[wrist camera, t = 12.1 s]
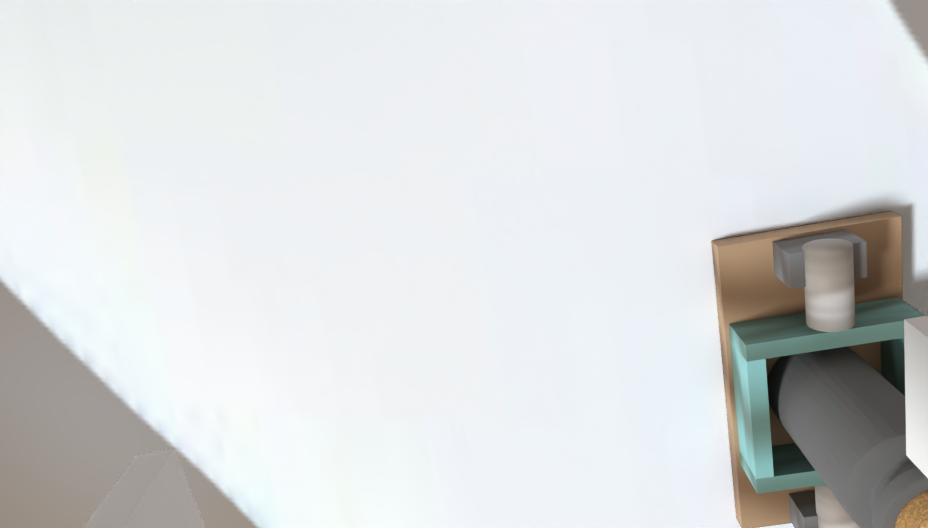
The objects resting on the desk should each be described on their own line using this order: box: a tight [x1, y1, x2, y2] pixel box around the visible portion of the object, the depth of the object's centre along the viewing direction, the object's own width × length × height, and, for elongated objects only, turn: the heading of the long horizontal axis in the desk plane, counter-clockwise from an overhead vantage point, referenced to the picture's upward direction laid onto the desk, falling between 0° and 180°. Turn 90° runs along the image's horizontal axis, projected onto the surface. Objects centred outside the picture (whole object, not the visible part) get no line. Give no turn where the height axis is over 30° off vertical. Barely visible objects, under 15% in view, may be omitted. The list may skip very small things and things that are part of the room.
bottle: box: [767, 346, 928, 528], centre depth 38 cm, size 6×6×15 cm
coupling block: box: [712, 211, 925, 528], centre depth 44 cm, size 19×10×5 cm, turn 11°
